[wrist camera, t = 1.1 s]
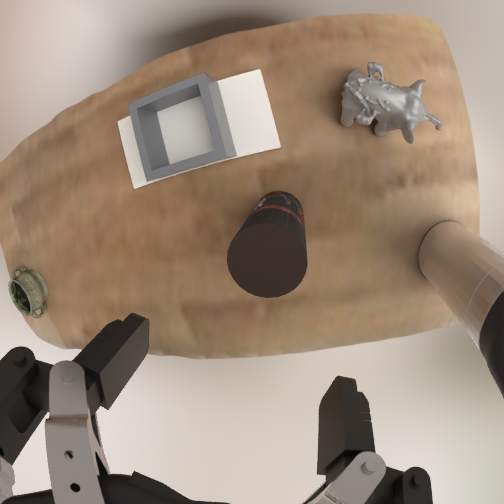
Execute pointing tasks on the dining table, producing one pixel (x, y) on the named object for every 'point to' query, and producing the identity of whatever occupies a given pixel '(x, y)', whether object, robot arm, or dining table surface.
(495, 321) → the robot arm
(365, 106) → the gray elephant figurine
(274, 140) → the socket stand
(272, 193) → the deodorant
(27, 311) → the vessel
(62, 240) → the dining table surface
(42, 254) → the dining table surface
